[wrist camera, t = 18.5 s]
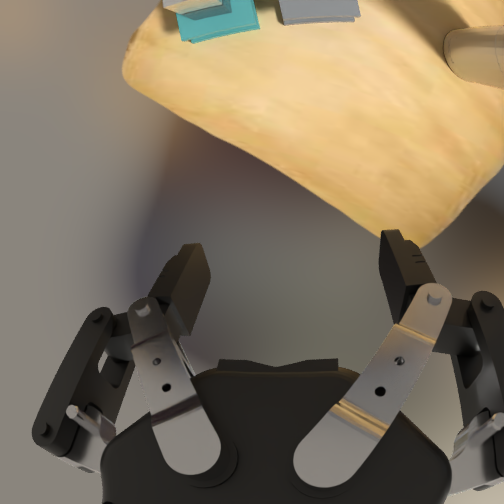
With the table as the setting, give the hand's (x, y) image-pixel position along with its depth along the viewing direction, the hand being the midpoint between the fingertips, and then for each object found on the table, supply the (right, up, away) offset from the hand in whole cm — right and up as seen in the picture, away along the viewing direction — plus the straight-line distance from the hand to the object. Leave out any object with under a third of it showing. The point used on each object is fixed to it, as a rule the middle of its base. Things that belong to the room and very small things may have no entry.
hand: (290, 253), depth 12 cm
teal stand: (-6, +35, +17) cm, 40 cm away
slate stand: (+7, +36, +14) cm, 39 cm away
